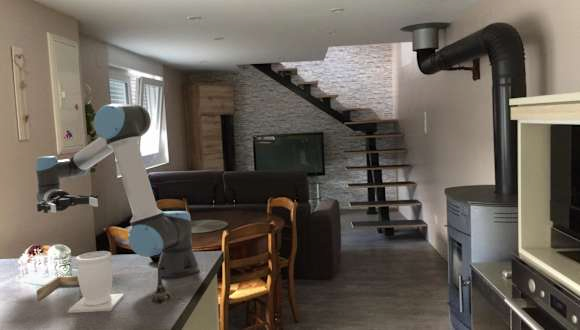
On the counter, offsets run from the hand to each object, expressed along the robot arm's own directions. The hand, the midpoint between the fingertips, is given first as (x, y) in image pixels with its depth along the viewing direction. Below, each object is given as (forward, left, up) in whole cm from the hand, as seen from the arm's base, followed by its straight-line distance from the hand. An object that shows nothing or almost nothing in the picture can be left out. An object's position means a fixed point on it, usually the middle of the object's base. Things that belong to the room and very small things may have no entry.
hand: (76, 205), depth 170 cm
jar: (-9, +11, -29) cm, 33 cm away
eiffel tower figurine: (-30, +11, -31) cm, 44 cm away
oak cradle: (+6, -3, -30) cm, 31 cm away
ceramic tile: (-9, +11, -30) cm, 33 cm away
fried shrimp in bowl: (-18, -39, -30) cm, 53 cm away
